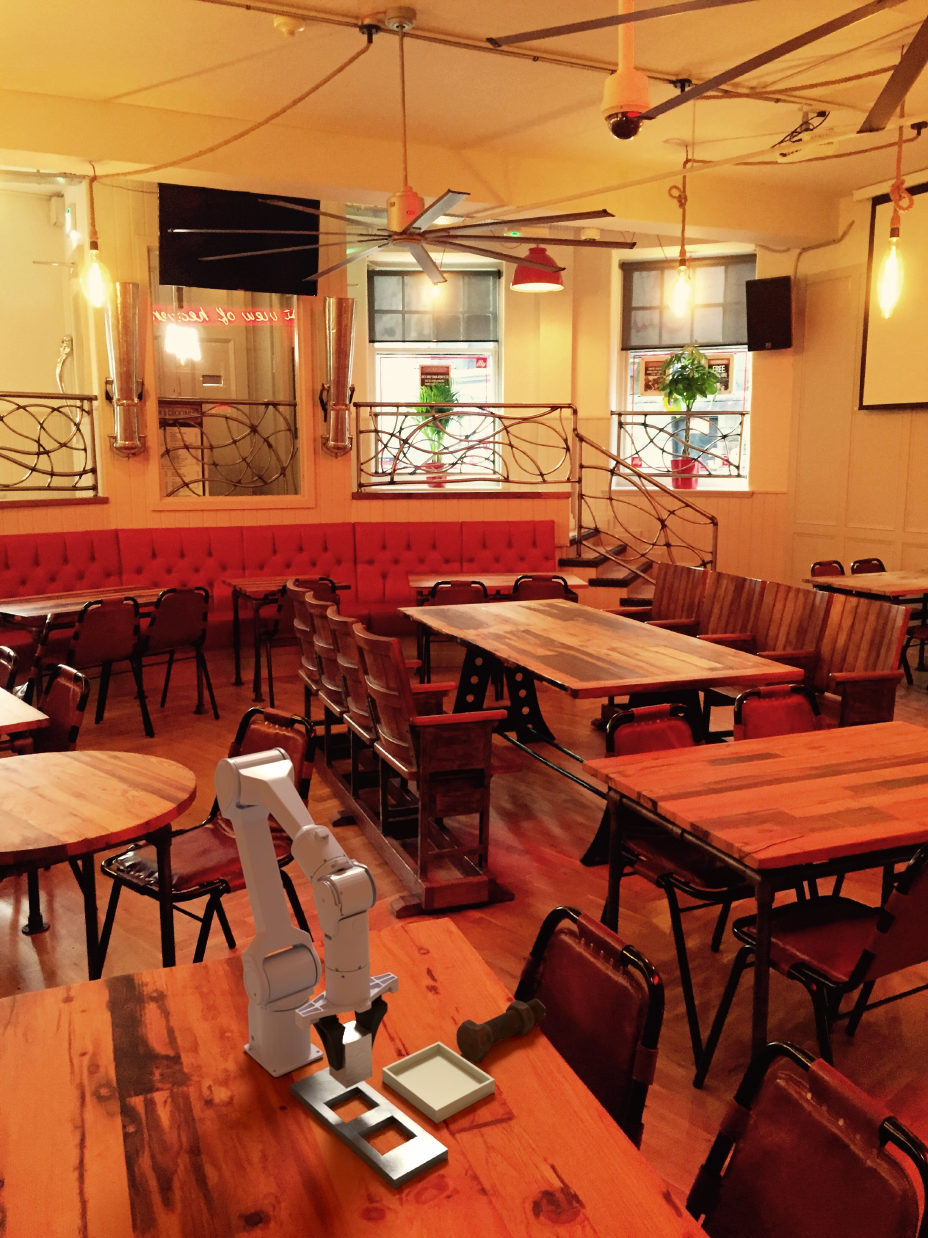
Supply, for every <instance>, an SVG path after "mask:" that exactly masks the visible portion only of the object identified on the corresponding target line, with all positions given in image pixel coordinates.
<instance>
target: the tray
mask: <svg viewBox="0 0 928 1238" xmlns="http://www.w3.org/2000/svg"><path fill="white" fill-rule="evenodd" d="M381 1072H382V1073H381V1077H382V1079H381V1080H382V1082H384V1083H385V1084H386V1085H387V1086H388V1087H390V1088H391V1089H392V1090H394V1091H395V1092H396V1093H397V1094H399V1096H401V1097H402V1098H404V1099H405V1100H406V1101H407V1102H409V1103H410V1104H411V1105H412V1106H414V1107H416V1109H417V1110H419V1111H420V1112H421V1113H423V1114H424V1115H426V1117H428V1118H430V1120H432V1121H433V1122H434V1123H436V1124H438V1123H440V1122H442V1121H444V1120H445V1119H447V1118H450V1117H452V1115H455V1114H457V1113H459V1112H460V1111H462V1110H464V1109H466V1108H468V1107H470V1106H472V1105H473V1104H475V1103H477V1102H478V1101H480V1100H482V1099H484V1098H486V1097H488V1096H490V1095H491V1094H493V1093H495V1092H496V1091H495V1090H496V1087H495V1086H496V1079H495V1078H494V1077H492V1076H491V1075H489V1074H488V1073H486V1072H484V1071H483V1070H482V1069H481V1068H479V1067H477V1066H476V1065H474V1064H473V1063H471V1061H470V1060H469V1061H468V1059H467V1058H465V1057H464V1056H463V1057H462V1056H461V1055H459V1054H458V1053H457V1052H455V1051H454V1050H453V1049H452V1048H449V1047H448V1046H446V1045H445V1044H444V1043H442V1042H441V1041H437V1042H435V1043H432V1044H431V1045H429V1046H428V1045H427V1046H426V1047H424V1048H422V1049H419V1050H418V1051H415V1052H414V1053H411V1054H410V1055H407V1056H406V1057H404V1058H401V1059H399V1060H397V1061H395V1062H393V1063H391V1064H388V1065H387V1066H384V1067H383V1068H381Z"/></svg>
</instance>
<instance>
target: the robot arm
mask: <svg viewBox="0 0 928 1238" xmlns="http://www.w3.org/2000/svg"><path fill="white" fill-rule="evenodd" d="M294 769H295V768H294V764H293V762H292V760H291V758H290V756H289V754H288V752H286V751H285V750H284V749H283V748H281V747H274V748H272V749H269V750H264V751H259V752H254V753H250V754H249V753H248V754H244V755H241V756H234V757H231V758H228V757H226V758H221V759H220V760H219V761H218V762H217V765H216V767H215V769H214V770H215V771H214V775H213V785H214V789H215V794H216V799H217V803H218V807H219V809H220V813H221V817H222V818H224V819H228V820H231V823H232V829H233V833H234V839H235V843H236V846H237V852H238V855H239V861H240V863H241V864H240V865H241V868H242V873H243V879H244V882H245V886H246V892H247V895H248V900H249V905H250V909H251V914H252V917H253V922H254V927H255V931H256V934H255V936H254V937H253V938H252V940H251V941H250V943H249V944H248V945H247V946H246V948H245V949H244V951H243V952H242V954H241V957H242V959H241V961H242V966H243V967H242V968H243V973H242V975H243V976H242V978H243V980H242V981H243V986H244V989H245V993H246V995H247V997H248V998H249V1001H248V1005H247V1006H248V1007H247V1016H248V1017H247V1018H248V1019H247V1020H248V1040H249V1041H248V1042H249V1043H246V1044H245V1045H243V1050H244V1051H245V1052H247V1054H248V1055H250V1056H251V1058H252V1059H253V1060H255V1061H256V1062H257V1063H258V1064H259V1065H260V1066H262V1067H263V1069H265V1070H266V1071H267V1072H268V1073H269V1074H270V1075H272V1076H273V1077H274V1078H278V1077H281V1076H283V1075H284V1074H287V1073H289V1072H291V1071H293V1070H296V1069H298V1068H300V1067H303V1066H304V1065H308V1064H309V1063H311V1062H313V1061H314V1062H315V1061H316V1060H318V1059H321V1058H322V1057H324V1051H325V1055H326V1059H327V1062H328V1066H329V1065H330V1066H331V1067H332V1068H333V1069H335V1070H336V1071H339V1070H341V1068H342V1044H343V1037H344V1033H345V1030H346V1027H345V1026H344V1025H345V1024H342V1023H341V1022H340V1018H339V1017H337V1015H339V1014H344V1013H350V1012H353V1013H354V1018H355V1022H357V1023H358V1024H359V1025H361V1026H362V1027H364V1028H365V1029H366V1030H368V1031H369V1032H370V1033H371V1040H372V1050H373V1048H374V1044H375V1041H376V1037H377V1032H378V1030H379V1028H380V1025H381V1024H382V1021H383V1019H384V1017H385V1016H386V1015H387V1013H388V1011H389V1009H388V1007H389V1006H388V1005H389V1004H388V1002H387V1001H385V999H383V995H385V994H387V993H390V994H394V993H397V992H399V977H398V976H396V975H394V974H393V973H392V972H386V973H384V974H379V975H375V976H371V968H370V967H371V962H370V960H371V959H370V957H371V955H370V927H369V926H370V925H369V923H370V921H369V911H368V910H371V909H373V908H374V907H375V906H376V904H377V902H378V887H377V882H376V879H375V877H374V875H373V873H372V872H371V869H370V868H369V867H368V866H367V865H366V864H364V863H359V862H358V861H357V860H356V859H354V858H353V859H350V857H349V856H348V855H347V854H346V852H345V851H344V849H343V847H342V846H341V845H340V843H339V842H338V841H337V839H336V837H335V836H334V835H333V833H332V832H331V830H330V829H329V827H327V826H325V825H316V824H315V821H314V820H313V818H312V816H311V814H310V812H309V811H308V808H307V807H306V805H305V804H304V802H303V800H302V798H301V796H300V795H299V792H298V791H297V789H296V787H295V770H294ZM270 814H271V815H272V816H273V817H274V819H275V820H276V821H277V823H278V824H279V825H280V826H281V828H282V829H283V830H284V831H285V832H286V833H287V835H288V836H289V837H290V839H291V840H292V844H291V846H290V847H291V848H290V853H291V855H292V856H293V859H294V860H295V861H296V863H297V865H298V866H299V868H300V869H301V870H302V872H303V874H304V876H305V877H306V878H307V880H308V881H309V883H310V885H311V886H312V887H313V889H314V891H313V892H312V898H313V902H314V906H315V909H316V912H317V916H318V925H319V929H320V930H321V931H322V932H323V951H324V957H323V958H324V980H325V981H324V983H325V984H324V985H325V990H324V991H323V992H322V993H320V994H319V995H318V996H316V997H315V998H314V999H312V1000H311V1001H310V997H312V996H313V995H314V993H315V992H314V991H315V990H314V989H315V988H314V987H316V986H317V985H319V983H320V981H321V977H322V973H323V972H322V970H323V968H322V964H321V963H322V962H321V960H320V959H321V958H320V956H319V953H318V952H317V950H316V949H315V946H314V944H313V941H312V938H311V935H310V933H309V932H307V931H305V930H302V929H300V928H298V927H295V926H294V925H293V924H292V921H291V920H292V919H291V917H290V912H289V907H288V902H287V898H286V894H285V889H284V885H283V880H282V877H281V873H280V868H279V864H278V860H277V859H278V858H277V856H276V850H275V847H274V843H273V837H272V833H271V828H270V824H269V821H268V820H269V819H268V818H269V815H270ZM288 947H290V948H288ZM286 948H287V949H286ZM283 949H284V950H283ZM280 950H281V951H280ZM278 951H279V952H278ZM271 953H272V954H271ZM311 1025H312V1026H313V1027H314V1029H315V1030H316V1033H317V1035H318V1036H319V1038H320V1039H319V1040H320V1041H321V1043H322V1046H323V1048H324V1051H322V1050H321V1049H320V1048H318V1047H317V1046H316V1045H315V1044H313V1043H312V1037H311V1035H312V1034H311V1033H312V1032H311Z"/></svg>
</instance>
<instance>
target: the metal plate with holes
mask: <svg viewBox="0 0 928 1238" xmlns="http://www.w3.org/2000/svg"><path fill="white" fill-rule="evenodd" d="M289 1093H290V1095H291V1096H293V1097H294V1098H295V1099H296V1100H297V1101H298V1102H299V1103H300V1104H302V1105H303V1106H304V1108H305V1109H307V1110H308V1112H310V1113H311V1114H312V1115H314V1117H316V1119H317V1120H319V1121H320V1122H321V1123H322V1124H323V1125H324V1126H325V1127H326V1128H328V1129H329V1130H330V1131H331V1132H332V1133H333V1134H334V1135H335V1136H336V1137H338V1138H339V1139H340V1140H341V1141H342V1142H343V1144H345V1145H346V1146H348V1147H347V1148H349V1149H350V1150H352V1151H353V1152H354V1154H356V1155H357V1156H358V1157H359V1158H360V1159H362V1161H364V1163H365V1164H366V1165H368V1166H369V1167H370V1168H371V1170H373V1171H375V1173H377V1174H378V1175H379V1176H380V1177H381V1178H382V1179H384V1181H386V1183H387V1184H389V1186H391V1187H392V1188H393V1189H394V1190H396V1189H398V1188H399V1187H401V1186H403V1185H404V1184H406V1183H408V1182H409V1181H411V1180H413V1179H415V1178H417V1177H418V1176H420V1175H422V1174H424V1173H425V1172H427V1171H429V1170H430V1169H432V1168H433V1167H435V1166H438V1164H441V1163H443V1162H444V1161H446V1160H447V1159H449V1149H448V1148H447V1147H446V1146H444V1145H443V1144H442V1143H441V1142H440V1141H439V1140H438V1139H436V1138H435V1137H434V1136H432V1135H431V1134H430V1133H429V1132H427V1131H426V1130H425V1129H424V1128H422V1127H421V1125H419V1124H418V1123H416V1122H415V1121H414V1120H412V1118H411V1117H409V1116H408V1115H406V1114H405V1113H404V1112H403V1111H401V1109H399V1108H398V1107H396V1106H395V1105H394V1104H393V1103H391V1101H389V1100H388V1099H387V1098H385V1097H384V1096H383V1095H382V1094H380V1093H379V1092H378V1091H377V1090H375V1089H374V1088H373V1087H372V1086H370V1085H369V1084H368V1083H367V1082H366V1081H365V1080H364V1081H362V1082H360V1083H357V1084H355V1085H353V1086H351V1087H349V1088H347V1089H346V1088H345V1087H344V1086H342V1085H341V1084H340V1083H339V1082H338V1081H337V1080H335V1079H334V1078H333V1077H332V1076H331V1075H329V1066H328V1067H326V1068H323V1069H322V1070H318V1071H317V1072H315V1073H312V1074H310V1075H308V1076H305V1077H304V1078H301V1079H299V1080H297V1081H295V1082H292V1083H290V1084H289ZM355 1096H359V1097H360V1098H361V1099H362V1100H364V1101H365V1103H367V1104H369V1106H370V1107H372V1108H373V1109H370V1110H369V1111H367V1112H365V1113H362V1114H361V1115H359V1116H356V1117H354V1118H353V1119H351V1120H349V1121H347V1122H345V1121H344V1120H343V1119H342V1118H340V1116H338V1114H336V1113H335V1112H334V1111H333V1110H331V1108H332V1107H335V1106H337V1105H339V1104H341V1103H342V1102H345V1101H347V1100H349V1099H351V1098H353V1097H355ZM390 1125H394V1126H395V1127H396V1128H398V1130H399V1131H401V1132H402V1134H404V1135H405V1136H407V1137H408V1138H409V1139H410V1140H408V1141H407V1142H405V1143H403V1144H401V1145H399V1146H397V1147H395V1148H393V1149H391V1150H390V1151H388V1152H386V1153H384V1154H381V1153H380V1152H379V1151H378V1150H376V1149H375V1148H374V1147H373V1146H372V1145H371V1144H370V1143H368V1141H366V1140H365V1139H366V1138H368V1137H369V1136H372V1135H374V1134H375V1133H378V1132H379V1131H381V1130H383V1129H385V1128H387V1127H389V1126H390Z"/></svg>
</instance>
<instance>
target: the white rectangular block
mask: <svg viewBox="0 0 928 1238" xmlns="http://www.w3.org/2000/svg"><path fill="white" fill-rule="evenodd" d="M343 1025H344V1026H345V1027H346V1030H345V1033H344V1037H343V1044H342V1068H341V1070H339V1071H336V1070H335V1069H333V1068H332V1067H331V1066H330V1065H329V1064H328V1067H329V1075H331V1076H332V1077H333V1078H334V1079H335V1080H337V1081H338V1082H339V1083H340V1084H341V1085H342V1086H344V1087H345V1088H346V1089H347V1088H349V1087H351V1086H353V1085H355V1084H357V1083H360V1082H362V1081H364V1082H365V1081H366V1080H368V1079H370V1078H371V1077H373V1049H372V1040H371V1033H370V1032H369V1031H368V1030H366V1029H365V1028H364V1027H362V1026H361V1025H359V1024H358V1023H357V1022H356V1020H352V1021H350V1022H347V1023H345V1024H343Z"/></svg>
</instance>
